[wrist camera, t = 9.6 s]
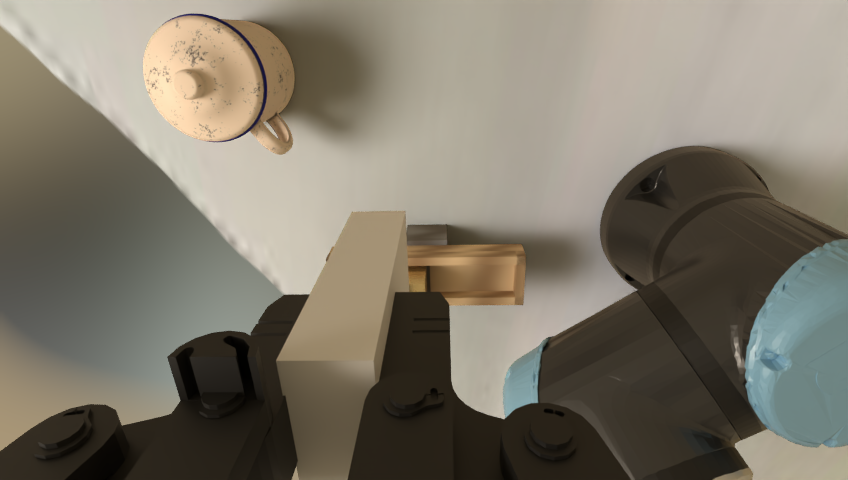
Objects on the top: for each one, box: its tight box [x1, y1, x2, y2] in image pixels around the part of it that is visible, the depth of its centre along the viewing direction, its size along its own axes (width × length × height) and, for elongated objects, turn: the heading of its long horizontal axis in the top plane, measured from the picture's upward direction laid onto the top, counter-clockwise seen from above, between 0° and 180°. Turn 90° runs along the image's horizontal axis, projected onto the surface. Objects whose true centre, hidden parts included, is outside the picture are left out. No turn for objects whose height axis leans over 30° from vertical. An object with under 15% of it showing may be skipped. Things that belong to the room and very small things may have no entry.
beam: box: [326, 225, 526, 305], centre depth 46 cm, size 18×6×7 cm, turn 92°
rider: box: [408, 266, 427, 292], centre depth 42 cm, size 4×3×6 cm
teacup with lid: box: [143, 14, 295, 155], centre depth 38 cm, size 12×9×12 cm
